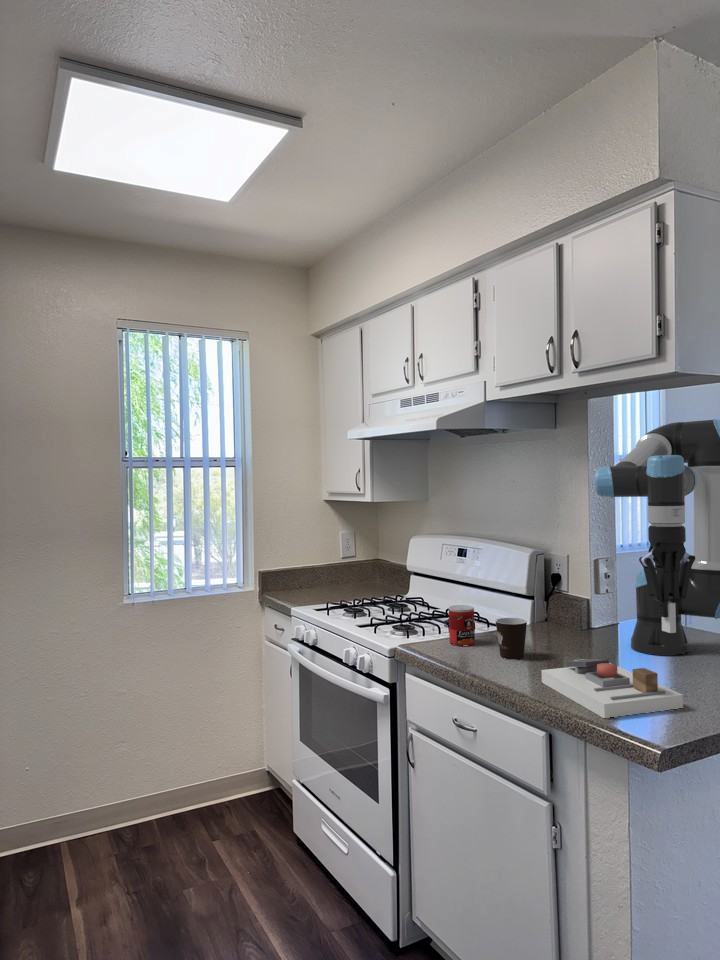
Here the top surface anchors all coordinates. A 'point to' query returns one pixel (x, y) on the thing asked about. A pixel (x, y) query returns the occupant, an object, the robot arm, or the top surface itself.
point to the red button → (607, 670)
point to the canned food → (461, 625)
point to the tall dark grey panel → (585, 663)
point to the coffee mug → (511, 637)
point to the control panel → (609, 692)
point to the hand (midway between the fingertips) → (668, 631)
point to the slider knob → (645, 680)
